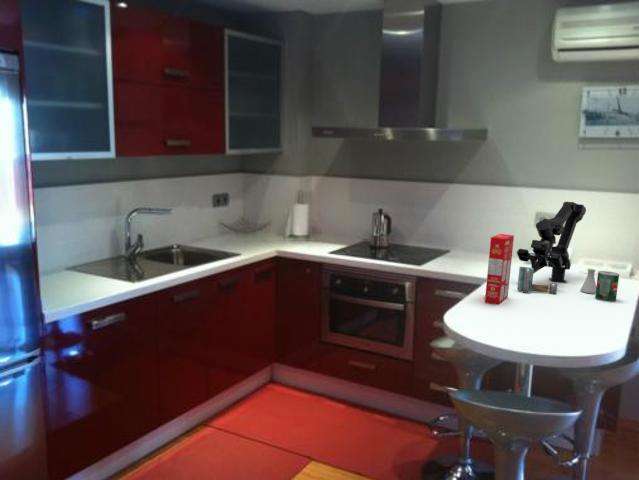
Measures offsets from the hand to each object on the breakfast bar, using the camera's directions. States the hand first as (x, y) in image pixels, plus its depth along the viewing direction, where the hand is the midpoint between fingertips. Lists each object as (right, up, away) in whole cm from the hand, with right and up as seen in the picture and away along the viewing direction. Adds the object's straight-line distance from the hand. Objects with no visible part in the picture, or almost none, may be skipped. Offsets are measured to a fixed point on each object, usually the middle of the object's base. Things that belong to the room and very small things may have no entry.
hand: (532, 272), depth 256 cm
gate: (-2, -7, -5) cm, 9 cm away
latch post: (-6, -8, -8) cm, 12 cm away
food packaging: (-22, -9, -23) cm, 33 cm away
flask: (+24, -9, 0) cm, 26 cm away
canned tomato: (+26, -10, -12) cm, 30 cm away
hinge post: (+6, -8, -6) cm, 12 cm away
